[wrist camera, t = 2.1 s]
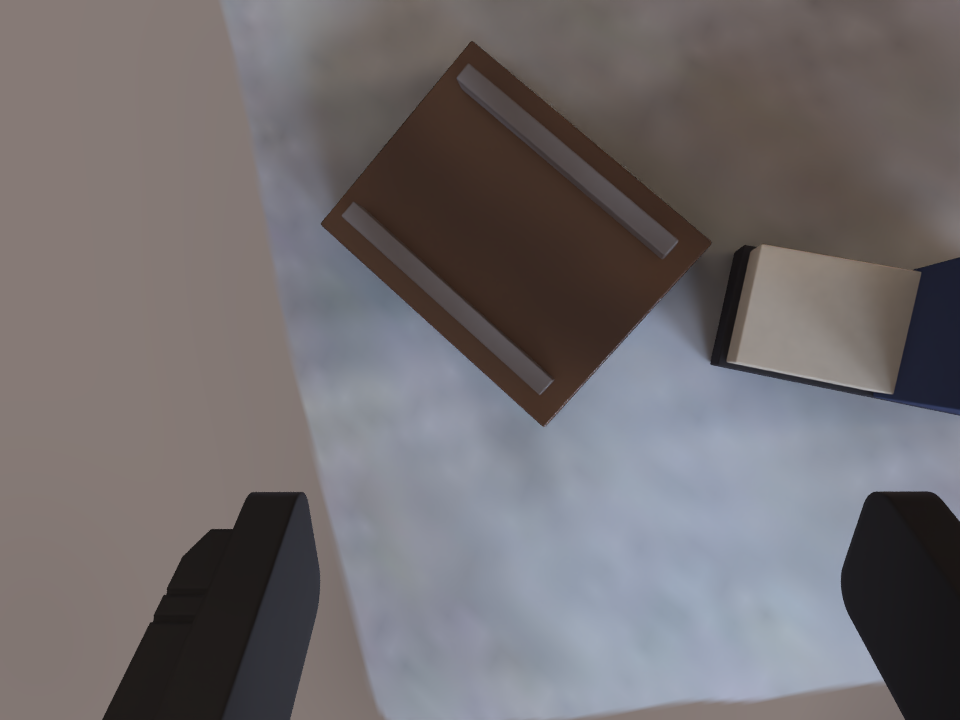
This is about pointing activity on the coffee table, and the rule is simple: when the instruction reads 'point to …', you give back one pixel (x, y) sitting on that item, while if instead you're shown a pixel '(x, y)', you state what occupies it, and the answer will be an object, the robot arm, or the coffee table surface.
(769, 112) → the coffee table surface
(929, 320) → the blue rectangular block
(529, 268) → the wooden base with rails
